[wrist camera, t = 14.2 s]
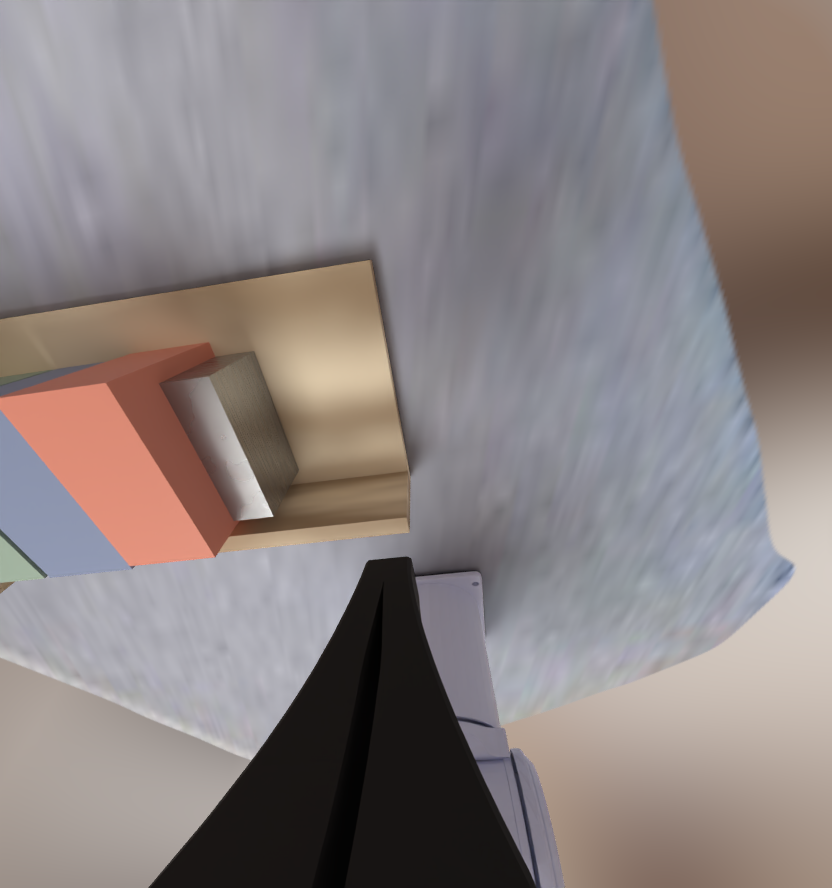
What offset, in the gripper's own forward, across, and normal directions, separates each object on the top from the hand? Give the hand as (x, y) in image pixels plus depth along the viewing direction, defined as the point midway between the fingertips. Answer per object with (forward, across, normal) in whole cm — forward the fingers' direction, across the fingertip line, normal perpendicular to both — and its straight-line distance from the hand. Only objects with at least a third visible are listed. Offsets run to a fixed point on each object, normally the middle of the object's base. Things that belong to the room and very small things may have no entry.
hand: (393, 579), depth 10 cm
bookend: (+9, +7, -2) cm, 12 cm away
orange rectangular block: (+9, +10, -3) cm, 14 cm away
